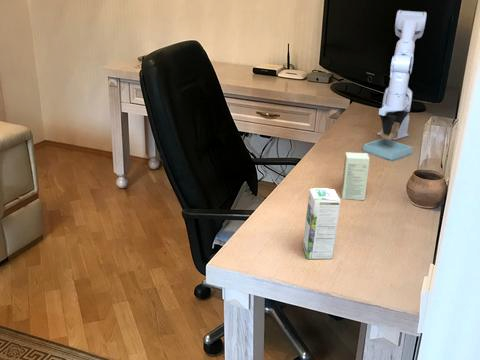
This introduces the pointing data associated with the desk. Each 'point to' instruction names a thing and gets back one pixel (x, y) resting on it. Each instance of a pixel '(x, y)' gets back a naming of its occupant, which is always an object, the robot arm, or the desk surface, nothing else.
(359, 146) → the desk surface
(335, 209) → the syrup box
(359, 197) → the skincare box
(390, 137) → the walnut block
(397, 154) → the tray
